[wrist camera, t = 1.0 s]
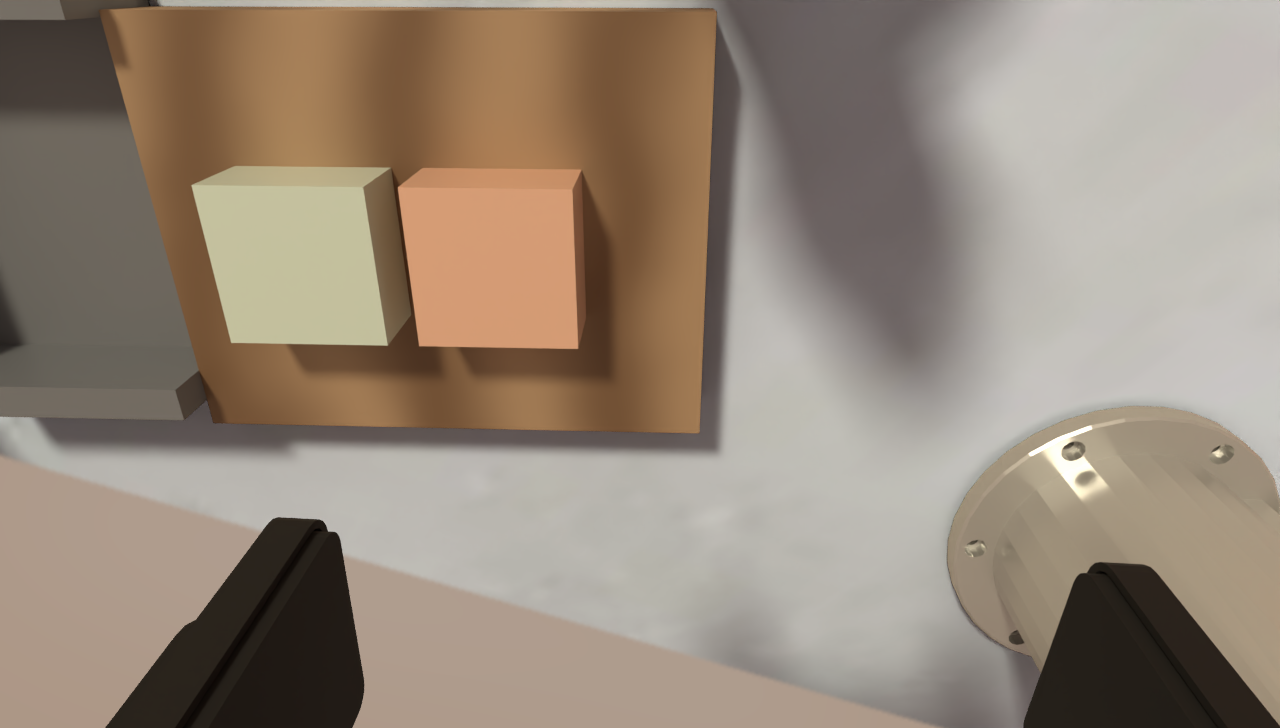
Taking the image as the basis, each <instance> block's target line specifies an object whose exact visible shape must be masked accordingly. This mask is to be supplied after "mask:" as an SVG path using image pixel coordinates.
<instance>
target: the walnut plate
mask: <svg viewBox="0 0 1280 728" xmlns="http://www.w3.org/2000/svg"><path fill="white" fill-rule="evenodd" d="M99 13H100V17H101V20H102V24H103V27H104V31H105V35H106V38H107V42H108V45H109V49H110V53H111V56H112V60H113V63H114V67H115V71H116V74H117V78H118V81H119V85H120V88H121V92H122V96H123V99H124V103H125V106H126V110H127V114H128V117H129V121H130V124H131V128H132V132H133V135H134V139H135V142H136V146H137V150H138V153H139V157H140V160H141V164H142V168H143V171H144V175H145V178H146V182H147V186H148V189H149V193H150V196H151V200H152V204H153V207H154V211H155V214H156V218H157V222H158V225H159V229H160V232H161V236H162V240H163V243H164V247H165V250H166V254H167V258H168V261H169V265H170V268H171V272H172V276H173V279H174V283H175V286H176V290H177V294H178V297H179V301H180V304H181V308H182V312H183V315H184V319H185V322H186V326H187V330H188V333H189V337H190V340H191V344H192V348H193V351H194V355H195V358H196V362H197V366H198V369H199V373H200V376H201V380H202V384H203V387H204V391H205V394H206V398H207V402H208V405H209V409H210V412H211V416H212V420H213V423H232V424H279V425H326V426H374V427H421V428H468V429H516V430H563V431H610V432H658V433H699V431H700V406H701V382H702V358H703V334H704V310H705V285H706V261H707V237H708V213H709V188H710V164H711V140H712V116H713V92H714V67H715V43H716V19H717V12H716V11H715V10H714V9H713V8H462V7H172V6H148V7H133V8H117V9H102V10H99ZM234 166H279V167H378V168H391V171H392V178H393V185H394V192H395V200H396V207H397V214H398V221H399V229H400V236H401V243H402V250H403V258H404V265H405V272H406V279H407V287H408V294H409V301H410V308H411V316H410V317H409V318H408V320H407V321H406V322H405V324H404V325H403V326H402V328H401V329H400V330H399V331H398V333H397V334H396V335H395V337H394V338H393V339H392V341H391V342H390V343H389V345H388V346H381V345H325V344H268V343H231V340H230V336H229V332H228V328H227V324H226V320H225V316H224V312H223V308H222V304H221V300H220V296H219V292H218V289H217V285H216V281H215V277H214V273H213V269H212V265H211V261H210V257H209V253H208V249H207V245H206V241H205V237H204V233H203V229H202V225H201V221H200V217H199V213H198V209H197V205H196V202H195V198H194V194H193V190H192V186H191V185H193V184H195V183H197V182H200V181H202V180H204V179H206V178H209V177H211V176H213V175H215V174H218V173H220V172H222V171H225V170H227V169H229V168H231V167H234ZM422 168H476V169H574V170H582V200H583V232H584V265H585V297H586V320H585V324H584V328H583V332H582V336H581V340H580V344H579V348H578V349H551V348H494V347H438V346H419V341H418V333H417V326H416V319H415V311H414V304H413V297H412V289H411V282H410V274H409V267H408V260H407V252H406V245H405V238H404V230H403V223H402V216H401V208H400V201H399V194H398V187H399V186H400V185H401V184H403V183H404V182H405V181H407V180H408V179H409V178H410V177H412V176H413V175H414V174H416V173H417V172H418V171H419V170H421V169H422Z"/></svg>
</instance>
